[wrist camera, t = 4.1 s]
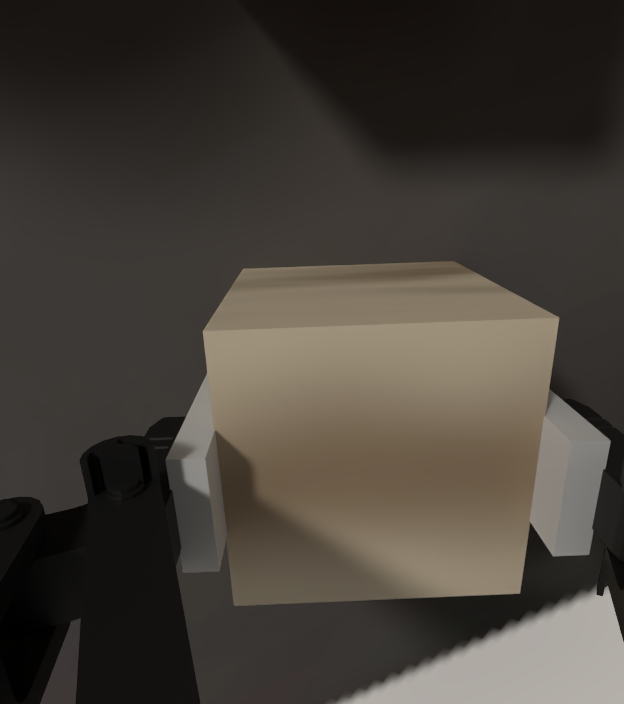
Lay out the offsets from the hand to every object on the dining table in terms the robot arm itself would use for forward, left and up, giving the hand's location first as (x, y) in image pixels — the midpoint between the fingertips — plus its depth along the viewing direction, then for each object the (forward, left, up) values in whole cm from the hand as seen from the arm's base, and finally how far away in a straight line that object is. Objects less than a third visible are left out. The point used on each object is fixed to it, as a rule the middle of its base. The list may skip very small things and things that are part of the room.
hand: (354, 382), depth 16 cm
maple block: (0, 0, -2) cm, 2 cm away
